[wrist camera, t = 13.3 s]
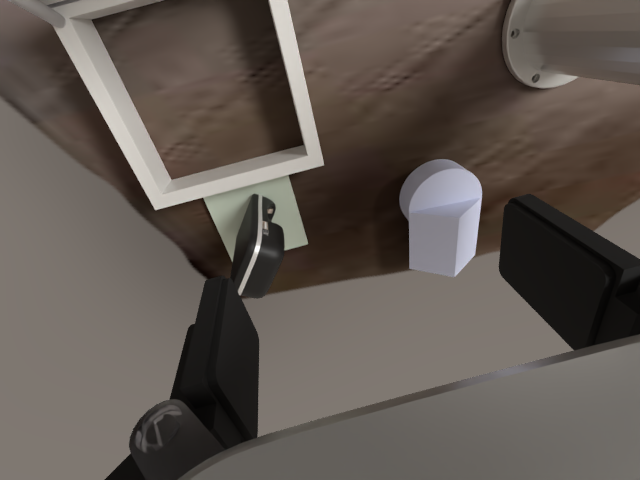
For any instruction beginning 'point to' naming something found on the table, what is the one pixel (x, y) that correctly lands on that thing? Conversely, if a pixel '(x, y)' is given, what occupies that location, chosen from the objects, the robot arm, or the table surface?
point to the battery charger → (257, 249)
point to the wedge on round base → (441, 216)
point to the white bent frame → (127, 127)
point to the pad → (234, 204)
